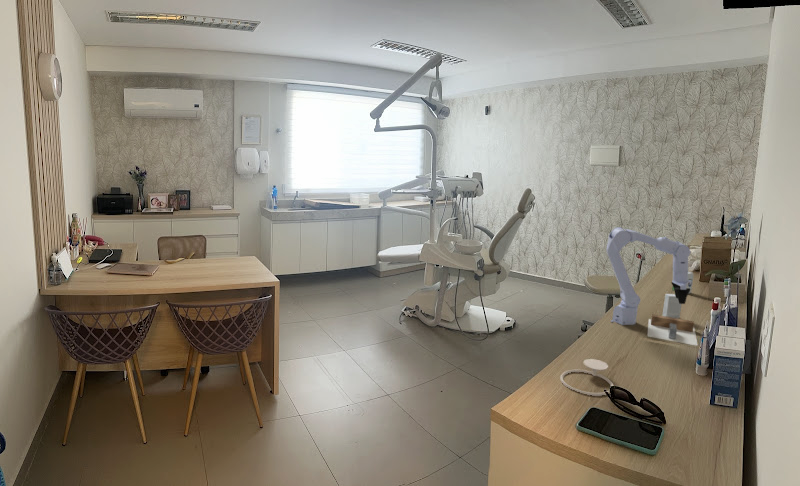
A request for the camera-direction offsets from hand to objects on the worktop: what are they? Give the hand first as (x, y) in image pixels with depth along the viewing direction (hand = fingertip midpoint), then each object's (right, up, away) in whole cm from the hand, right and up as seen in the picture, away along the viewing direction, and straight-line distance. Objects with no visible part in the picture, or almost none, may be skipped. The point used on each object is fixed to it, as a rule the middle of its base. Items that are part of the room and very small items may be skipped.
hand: (680, 300), depth 207 cm
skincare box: (+3, -11, +14) cm, 18 cm away
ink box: (+36, -2, +59) cm, 69 cm away
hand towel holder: (-60, -22, -48) cm, 79 cm away
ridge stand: (-6, -14, -3) cm, 15 cm away
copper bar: (-3, -12, +1) cm, 12 cm away
